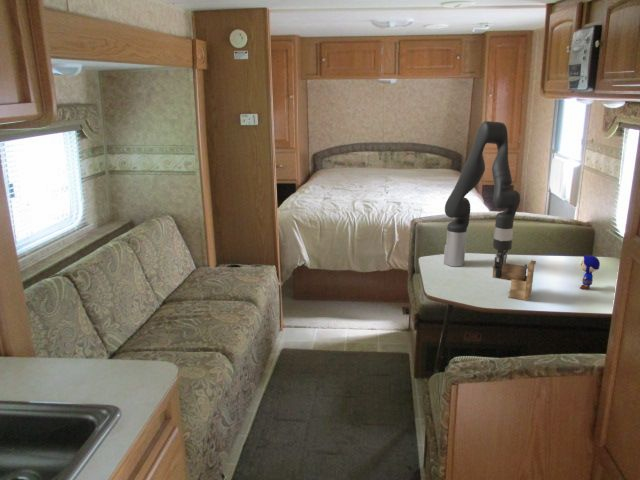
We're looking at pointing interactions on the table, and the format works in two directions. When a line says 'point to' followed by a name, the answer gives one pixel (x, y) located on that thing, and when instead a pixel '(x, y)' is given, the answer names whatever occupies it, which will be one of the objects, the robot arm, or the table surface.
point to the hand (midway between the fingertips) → (499, 275)
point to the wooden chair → (523, 285)
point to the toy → (589, 270)
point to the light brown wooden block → (511, 272)
